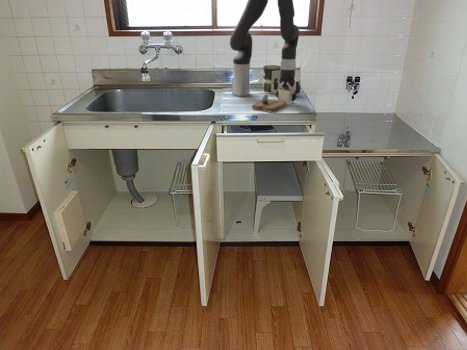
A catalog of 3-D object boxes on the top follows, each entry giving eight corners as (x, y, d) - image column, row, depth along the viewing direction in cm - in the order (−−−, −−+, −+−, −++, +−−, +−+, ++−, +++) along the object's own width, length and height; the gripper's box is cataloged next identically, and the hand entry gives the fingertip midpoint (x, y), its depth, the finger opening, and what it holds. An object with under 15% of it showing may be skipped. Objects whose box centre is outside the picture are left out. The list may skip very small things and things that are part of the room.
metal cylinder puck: (261, 103, 174) (261, 95, 172) (264, 102, 176) (264, 94, 174) (265, 104, 173) (266, 96, 171) (268, 103, 175) (268, 95, 173)
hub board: (252, 108, 174) (252, 104, 173) (265, 102, 183) (265, 98, 182) (273, 112, 167) (273, 108, 166) (285, 106, 177) (286, 102, 176)
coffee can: (261, 93, 199) (262, 68, 193) (263, 89, 208) (263, 64, 202) (279, 94, 198) (281, 68, 191) (280, 89, 207) (281, 65, 200)
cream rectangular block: (277, 103, 182) (278, 88, 178) (283, 100, 186) (284, 86, 182) (288, 105, 179) (289, 90, 175) (293, 102, 183) (294, 87, 179)
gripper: (271, 67, 175) (270, 99, 182) (297, 70, 167) (295, 103, 175) (279, 65, 180) (277, 95, 188) (304, 68, 173) (301, 99, 180)
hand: (286, 99), depth 181 cm, fingers open, 8 cm apart
